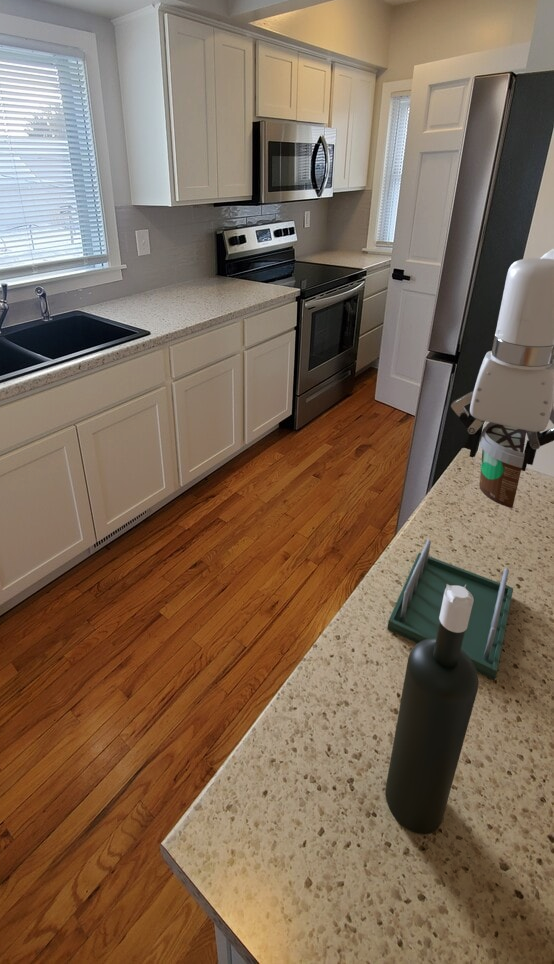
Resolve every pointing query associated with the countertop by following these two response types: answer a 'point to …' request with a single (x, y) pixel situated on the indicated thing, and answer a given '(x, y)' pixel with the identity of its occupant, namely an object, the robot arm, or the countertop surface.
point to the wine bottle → (432, 719)
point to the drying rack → (424, 602)
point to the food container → (501, 462)
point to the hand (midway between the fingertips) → (498, 458)
